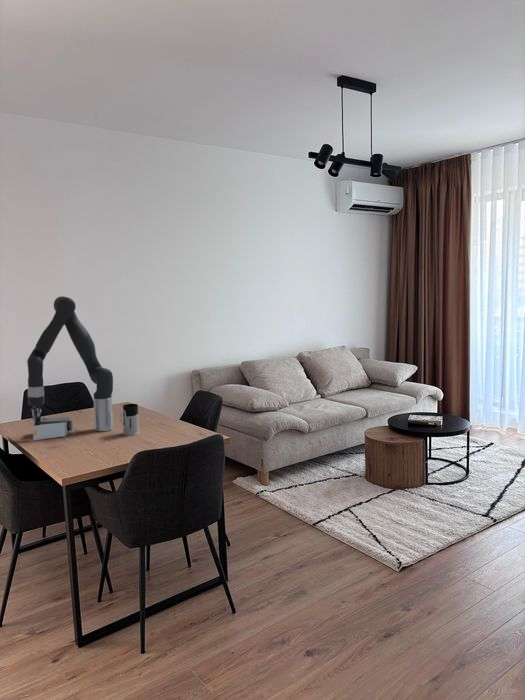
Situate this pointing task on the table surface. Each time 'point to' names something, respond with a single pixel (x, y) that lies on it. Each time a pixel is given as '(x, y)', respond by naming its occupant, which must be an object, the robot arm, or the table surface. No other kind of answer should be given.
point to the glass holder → (130, 419)
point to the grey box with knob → (57, 420)
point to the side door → (49, 431)
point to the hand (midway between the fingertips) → (37, 429)
